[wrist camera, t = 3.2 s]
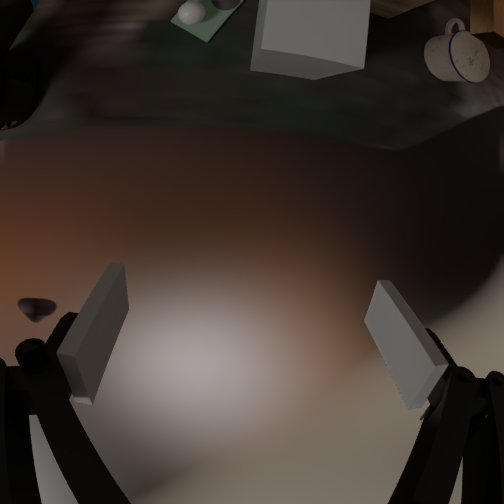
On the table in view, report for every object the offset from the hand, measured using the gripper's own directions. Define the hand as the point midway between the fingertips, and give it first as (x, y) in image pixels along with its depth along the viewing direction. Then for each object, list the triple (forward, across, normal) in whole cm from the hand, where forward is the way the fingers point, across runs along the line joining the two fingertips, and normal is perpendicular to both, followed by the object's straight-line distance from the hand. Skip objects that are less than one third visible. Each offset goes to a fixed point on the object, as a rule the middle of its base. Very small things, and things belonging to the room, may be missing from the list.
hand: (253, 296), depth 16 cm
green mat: (+38, +7, -25) cm, 46 cm away
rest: (+38, -5, -20) cm, 43 cm away
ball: (+37, +9, -23) cm, 45 cm away
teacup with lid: (+38, -33, -26) cm, 57 cm away
